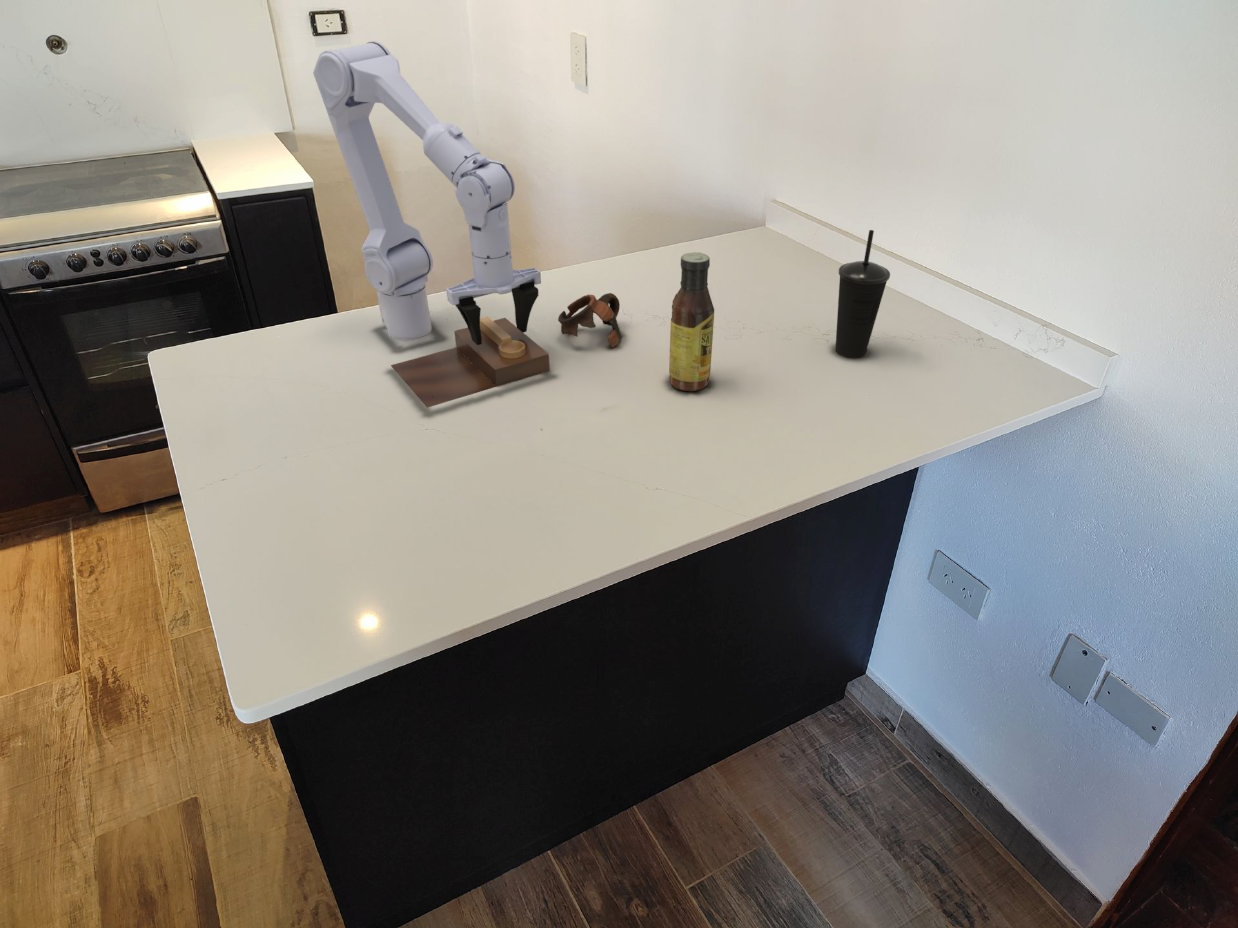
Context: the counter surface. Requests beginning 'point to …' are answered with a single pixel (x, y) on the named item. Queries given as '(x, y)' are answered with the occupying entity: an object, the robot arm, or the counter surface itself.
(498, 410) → the counter surface
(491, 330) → the spoon
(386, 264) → the robot arm
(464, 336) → the step shelf
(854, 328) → the drinking cup
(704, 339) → the sauce bottle
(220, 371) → the counter surface
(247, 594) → the counter surface
